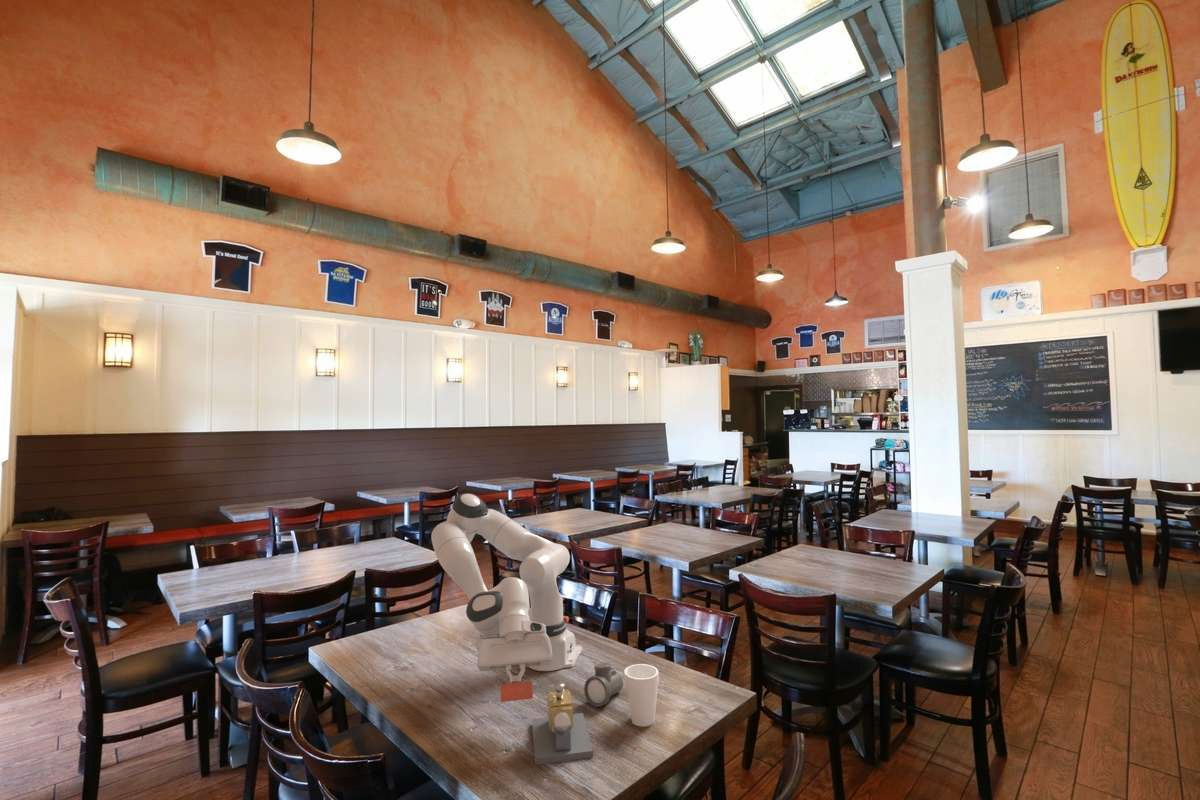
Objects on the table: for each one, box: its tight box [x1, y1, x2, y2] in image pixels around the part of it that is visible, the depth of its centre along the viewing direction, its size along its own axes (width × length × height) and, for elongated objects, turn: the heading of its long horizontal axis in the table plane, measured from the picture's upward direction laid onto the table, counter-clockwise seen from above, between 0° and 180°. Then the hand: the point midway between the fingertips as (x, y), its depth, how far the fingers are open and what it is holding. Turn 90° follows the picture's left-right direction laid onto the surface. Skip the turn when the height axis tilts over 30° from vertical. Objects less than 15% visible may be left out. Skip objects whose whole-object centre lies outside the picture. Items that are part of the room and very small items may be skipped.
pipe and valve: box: [546, 689, 574, 752], centre depth 139 cm, size 6×16×11 cm, turn 9°
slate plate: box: [531, 712, 594, 766], centre depth 139 cm, size 14×18×2 cm
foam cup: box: [623, 663, 660, 728], centre depth 148 cm, size 10×9×13 cm
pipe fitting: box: [583, 662, 624, 708], centre depth 160 cm, size 12×8×10 cm
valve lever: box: [500, 680, 566, 703], centre depth 139 cm, size 16×3×3 cm, turn 99°
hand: (515, 684), depth 142 cm, fingers closed
